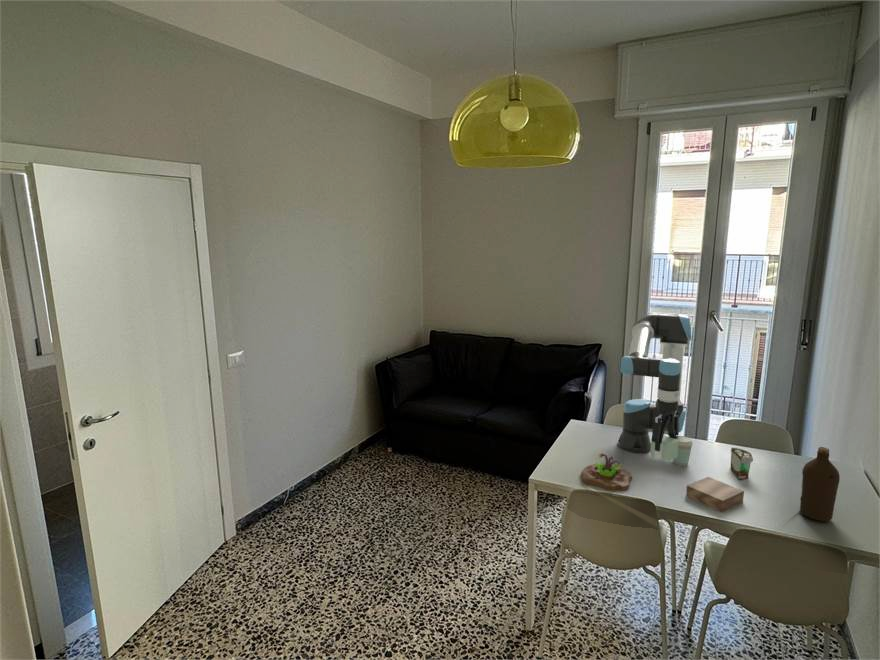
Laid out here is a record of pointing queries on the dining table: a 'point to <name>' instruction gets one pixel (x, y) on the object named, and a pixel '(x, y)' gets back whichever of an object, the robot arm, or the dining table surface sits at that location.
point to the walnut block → (715, 494)
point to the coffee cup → (683, 451)
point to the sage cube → (667, 448)
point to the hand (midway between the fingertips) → (663, 455)
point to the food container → (740, 463)
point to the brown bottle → (819, 487)
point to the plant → (606, 475)
